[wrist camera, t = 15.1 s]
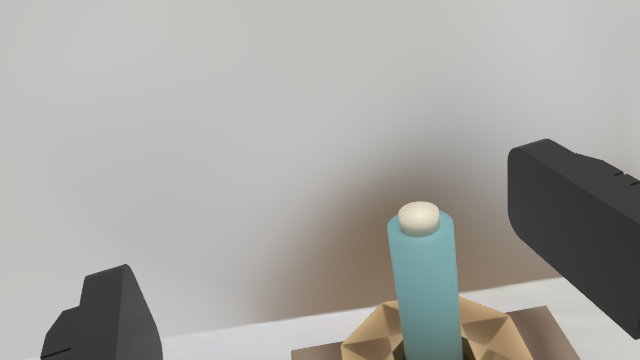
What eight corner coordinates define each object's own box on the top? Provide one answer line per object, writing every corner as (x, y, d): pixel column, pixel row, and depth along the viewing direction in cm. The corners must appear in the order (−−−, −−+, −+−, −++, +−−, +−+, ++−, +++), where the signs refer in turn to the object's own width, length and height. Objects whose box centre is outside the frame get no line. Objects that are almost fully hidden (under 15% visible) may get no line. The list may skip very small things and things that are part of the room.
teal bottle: (417, 418, 38) (391, 236, 31) (405, 374, 42) (380, 201, 34) (472, 409, 38) (460, 224, 30) (456, 365, 42) (442, 190, 34)
